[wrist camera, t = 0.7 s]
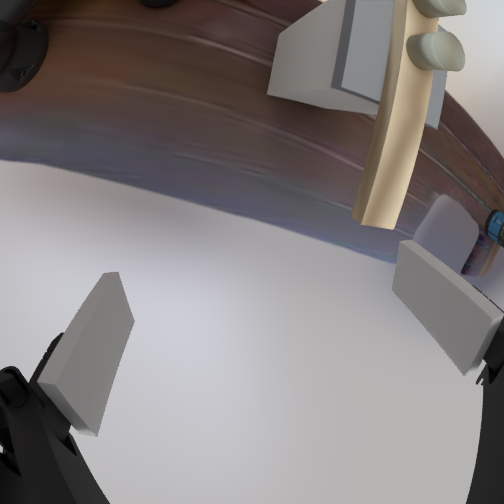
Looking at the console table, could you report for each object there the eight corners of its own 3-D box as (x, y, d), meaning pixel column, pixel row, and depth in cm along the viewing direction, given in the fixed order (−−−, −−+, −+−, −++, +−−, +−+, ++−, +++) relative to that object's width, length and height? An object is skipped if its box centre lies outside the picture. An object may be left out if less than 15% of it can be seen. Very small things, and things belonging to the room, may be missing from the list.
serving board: (350, 215, 25) (385, 246, 20) (396, -25, 13) (436, -38, 8) (382, 220, 26) (418, 250, 21) (426, -5, 14) (467, -13, 9)
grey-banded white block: (264, 94, 43) (341, 86, 19) (276, 33, 37) (358, -23, 13) (326, 108, 46) (437, 129, 22) (337, 52, 40) (450, 34, 16)
